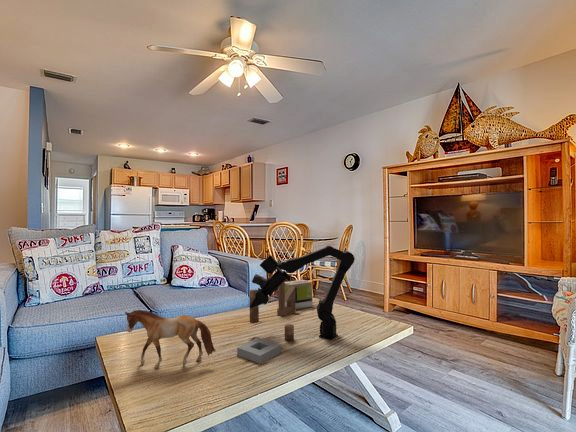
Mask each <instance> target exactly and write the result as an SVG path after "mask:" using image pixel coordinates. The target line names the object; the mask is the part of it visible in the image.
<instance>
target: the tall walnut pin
mask: <svg viewBox="0 0 576 432" xmlns="http://www.w3.org/2000/svg"><path fill="white" fill-rule="evenodd" d="M257 291H258V289H249V306H250V305H251V304H252V302H253V301H254V299H255V298H256V296H255V293H256V292H257ZM259 306H260V305H258V306H256V307H253V308H250V307H249V323H250V324H258V323H259V321H260V319H259V318H260V317H259V316H260V311H259Z"/></svg>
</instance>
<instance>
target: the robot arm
mask: <svg viewBox="0 0 576 432" xmlns="http://www.w3.org/2000/svg"><path fill="white" fill-rule="evenodd" d="M328 256H330V257H331V258H332V257H333V258H335V259H337V267H336V268H337V269H336V270H335V273H334V275H333V278H332V280H331V282H330V285H329V287H328V289H327V291H326V295H325V296H324V298H322V299H320V298H319V300H318V303H317V305H316V306H315V307H316V313H317V314H316V315H317V317H318V319H319V320H320V324H319V335H318V337H319V338H321V339H326V340H328V341H330V340H331V341H332V340H335V338H337V337H338V336H339V334H338V333H337V319H336V317H335V315H334V314H333V307H334V301H335V299H336V298H337V295H338V292H339V290H340V287H341V285H342V283H343V280H344V278H345V277H346V276H345V275H346V274H347V272H348V271H349V269H351V268H352V265H354V263H355V260H356V259H355V255H354V254H353V253H352V252H351V251H349V250H340V249H338V248H336V247H333V246H331V245H326V246H325V247H322V248H320V249H317V250H314V251H312V252H310V253H307V254H304V255H303V256H297V257H292V258H288V259H286V260H285V261H281V262H278V261H277V260H276V259H275V258H274V257H273V256H272V254H270V255H269V256H268V257H266V258H264V260H263V261H262V262H260V264H259V267H261V269H263V271H264V272H265V273H267V275H268V274H269V275H270V274H271V276H270V277H268V278H265V277H264V276H261V275H259V274H257V273H256V274H254V276H253V278H252V280H251V283H252V284H255V285H258V286H259V287H258V289H257V290H258V291H257V292H256V293H255V296H256V298H255V299H254V301H253V302H252V304H251V305H250V304H249V309H250V308H253V307H256V306H258V305H259V306H261V305H267V304H268V302H269V301H270V297H271V296H272V295H273V294H274V293H275V292H276V291H278V287H279V286H280V285H281V284H282V283H283V282H286V280H287V282H291V281H292V274H294V273H296V272H297V271H299V270H300V269H301V268H303V267H304V266H306V265H309V264H311V263H314V262H317V261H319V260H321V259H324V258H325V257H328Z"/></svg>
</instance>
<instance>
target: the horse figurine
mask: <svg viewBox="0 0 576 432" xmlns="http://www.w3.org/2000/svg"><path fill="white" fill-rule="evenodd" d="M124 314H125V315H126V321H127V323H126V325H127V326H126V332H128V333H132V332H133V330H134V328H135V326H136V325H137V324H138V322H139V323H140V324H141V325H142V327H143V328H144V329H145V330H146V335H147V339H146V342H145V344H144V346H143V349H142V352H141V355H140V365H141V366H142V365H144V364H145V362H146V360H145V354H146V351H147V349H148V348H149V346H150V345H151V344H153V345H154V347H155V348H156V349H155V350H156V352H157V356H158V361H157V362H156V363H155V365H154V367H153V369H159V368H160V366H161V365H160V364H161V363H162V361H163V357H162V353H161V352H162V349H161V343H160V340H161V339H162V340H163V339H169V338H175V337H176V336H177V337H178V339H180V340H181V342H182V343H183V344H185V345H187V351H186V352H185V354H184V356H183V360H182V367H184V366H185V365H187V363H188V361H187V359H188V357H189V354H190V353H191V351H192V349H193V348H194V345H195V344H196V345H197V348H198V356H197V358H196V360H195V361H197V362H198V361H199V362H200V361H201V360H202V358H203V357H202V356H203V354H204V352H203V347H204V350H205V352H206V354H207V356H210V355H212V354H213V352H216V351H217V350H216V349H215V347H214V343H213V340H212V333H211V331H210V329H209V328H208V326H207V325H206V324H205V323H204V322H202V321H201V320H198V319H196V318H195V317H192V316H190V315H185V314H182V315H178V316H176V317H169V318H166V317H162V316H160V315H158V314H156V313H153V312H151V311H147V310H143V309H142V310H141V309H137V310H133V311H130V312H127V311H126V312H125V313H124ZM199 330H200V337H201V340H200V339H199V337H198V331H199ZM190 338H191V339H192V340H193V341H194V342H195V343H194V342H193V341H192V340H191V339H190ZM202 343H203V347H202Z"/></svg>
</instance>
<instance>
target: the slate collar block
mask: <svg viewBox="0 0 576 432" xmlns="http://www.w3.org/2000/svg"><path fill="white" fill-rule="evenodd" d="M280 353H282V344H280V343H276V342H274V341H270V340H267V339H264V338H261V337H256V338H254V339H253V340H250V341H248V342H246V343H243V344H241V345H239V346H237V347H236V355H237V356H238V357H241V358H243V359H246V360H249V361H251V362H253V363H257V364H259V365H261V364H263V363H265V362H267V361H268V360H271V359H272V358H273V357H275V356H277V355H279V354H280Z"/></svg>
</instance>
